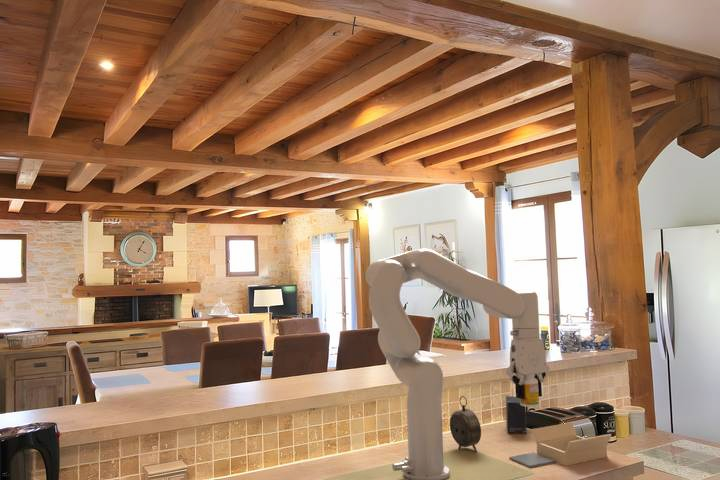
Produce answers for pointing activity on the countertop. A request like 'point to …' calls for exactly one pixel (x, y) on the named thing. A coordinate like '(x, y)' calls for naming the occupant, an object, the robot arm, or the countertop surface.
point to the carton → (569, 444)
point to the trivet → (532, 460)
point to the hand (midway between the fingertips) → (529, 396)
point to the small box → (515, 416)
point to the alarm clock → (465, 427)
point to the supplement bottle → (530, 391)
